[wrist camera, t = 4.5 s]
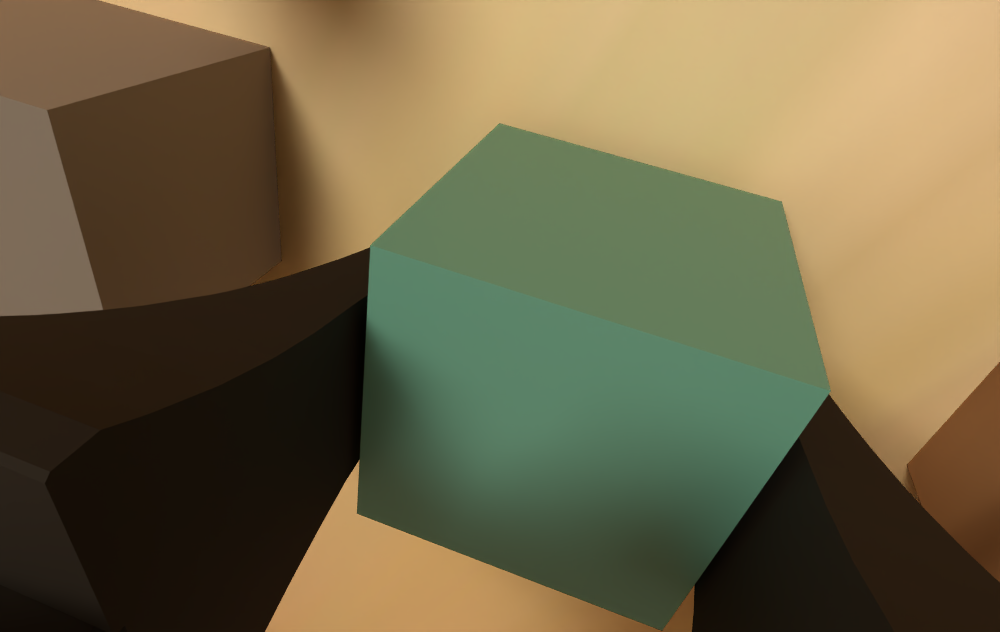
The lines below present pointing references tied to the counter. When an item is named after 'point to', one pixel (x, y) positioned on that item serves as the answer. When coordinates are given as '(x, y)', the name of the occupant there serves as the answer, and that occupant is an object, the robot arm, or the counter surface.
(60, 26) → the gray block
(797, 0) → the counter surface
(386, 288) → the muted green block
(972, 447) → the walnut block
